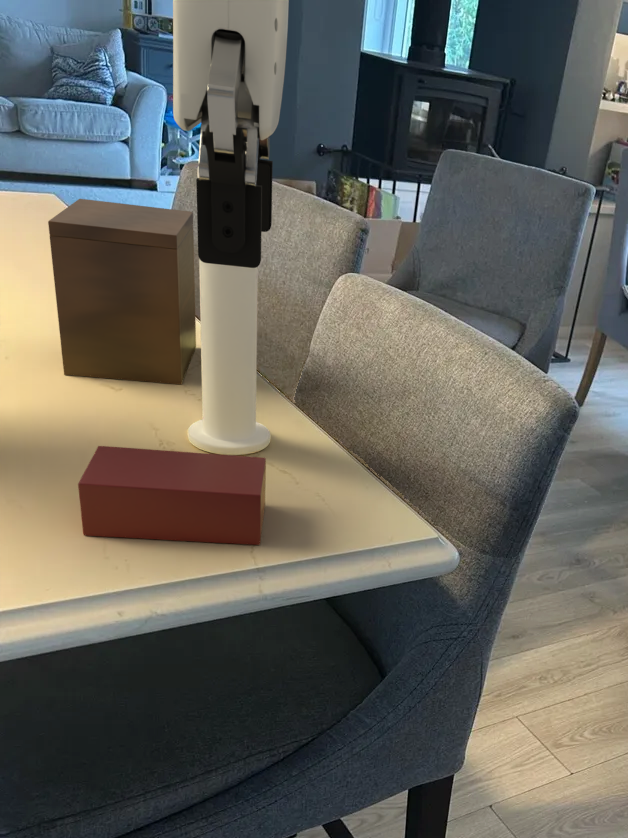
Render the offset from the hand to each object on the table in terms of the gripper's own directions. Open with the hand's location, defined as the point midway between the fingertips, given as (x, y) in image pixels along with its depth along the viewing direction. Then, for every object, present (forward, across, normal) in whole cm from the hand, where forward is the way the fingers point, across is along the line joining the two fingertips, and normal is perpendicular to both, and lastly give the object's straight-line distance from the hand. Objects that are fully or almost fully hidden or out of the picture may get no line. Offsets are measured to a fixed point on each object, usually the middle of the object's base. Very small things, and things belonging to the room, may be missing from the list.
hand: (238, 245), depth 51 cm
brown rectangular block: (+20, -38, -14) cm, 46 cm away
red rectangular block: (+20, -4, -5) cm, 21 cm away
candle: (+21, -20, -2) cm, 29 cm away
